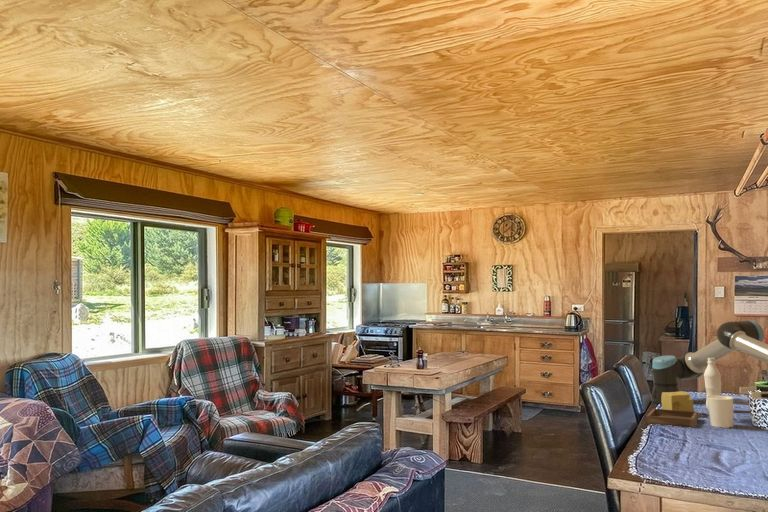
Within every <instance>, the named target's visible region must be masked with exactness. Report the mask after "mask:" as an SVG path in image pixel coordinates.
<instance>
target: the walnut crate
mask: <svg viewBox="0 0 768 512" xmlns="http://www.w3.org/2000/svg"><path fill="white" fill-rule="evenodd" d="M645 416H646V417H645V418H646V425H651V424H660V425H659V426H663V425H672V426H671V427H675V426H681V427H680V428H687V427H691V428H690V429H695V427H696V425H697V423H698V421H699V412H698V411H695V412H693V411H679V410H665V409H662V408H652V409H651V410H650V411H649V412H648V413H647V415H645Z"/></svg>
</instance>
